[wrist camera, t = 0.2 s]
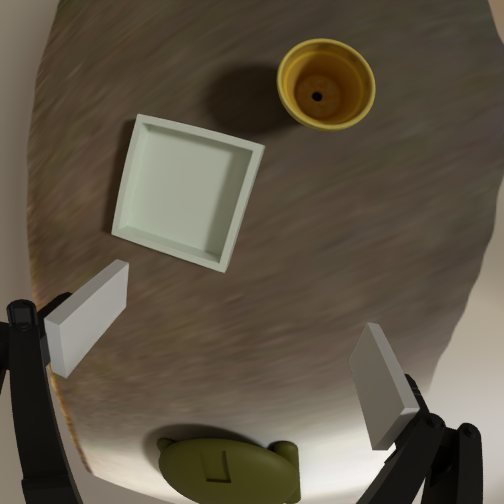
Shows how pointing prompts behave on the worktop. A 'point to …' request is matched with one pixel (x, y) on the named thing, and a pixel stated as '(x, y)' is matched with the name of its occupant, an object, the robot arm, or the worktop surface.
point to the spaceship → (231, 471)
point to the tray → (185, 190)
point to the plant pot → (325, 84)
